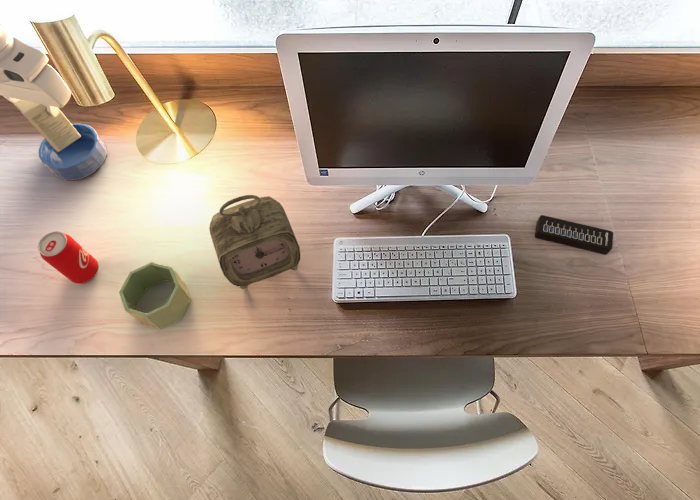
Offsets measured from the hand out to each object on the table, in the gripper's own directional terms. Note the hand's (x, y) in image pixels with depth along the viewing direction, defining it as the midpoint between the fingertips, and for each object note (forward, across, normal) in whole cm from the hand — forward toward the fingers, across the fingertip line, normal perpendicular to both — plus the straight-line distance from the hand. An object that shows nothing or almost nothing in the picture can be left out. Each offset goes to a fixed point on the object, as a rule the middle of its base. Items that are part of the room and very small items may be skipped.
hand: (40, 111), depth 103 cm
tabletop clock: (+16, +53, -15) cm, 57 cm away
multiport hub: (+16, +112, +8) cm, 113 cm away
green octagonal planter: (+16, +36, -28) cm, 48 cm away
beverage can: (+16, +17, -26) cm, 35 cm away
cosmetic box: (+9, 0, 0) cm, 9 cm away
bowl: (+16, 0, 0) cm, 16 cm away
